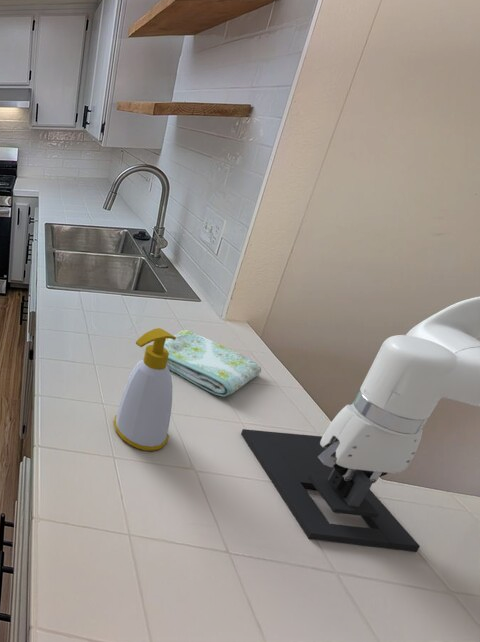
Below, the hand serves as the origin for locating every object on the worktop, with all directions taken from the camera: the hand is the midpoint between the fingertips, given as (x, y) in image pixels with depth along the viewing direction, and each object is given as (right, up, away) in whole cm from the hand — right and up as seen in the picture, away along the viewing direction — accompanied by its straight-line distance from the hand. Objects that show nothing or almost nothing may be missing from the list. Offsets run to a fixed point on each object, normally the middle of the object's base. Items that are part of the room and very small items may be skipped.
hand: (344, 490), depth 67 cm
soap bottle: (-28, +2, +19) cm, 33 cm away
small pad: (0, -1, +1) cm, 2 cm away
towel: (-2, +10, +38) cm, 40 cm away
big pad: (+1, -3, +6) cm, 7 cm away
